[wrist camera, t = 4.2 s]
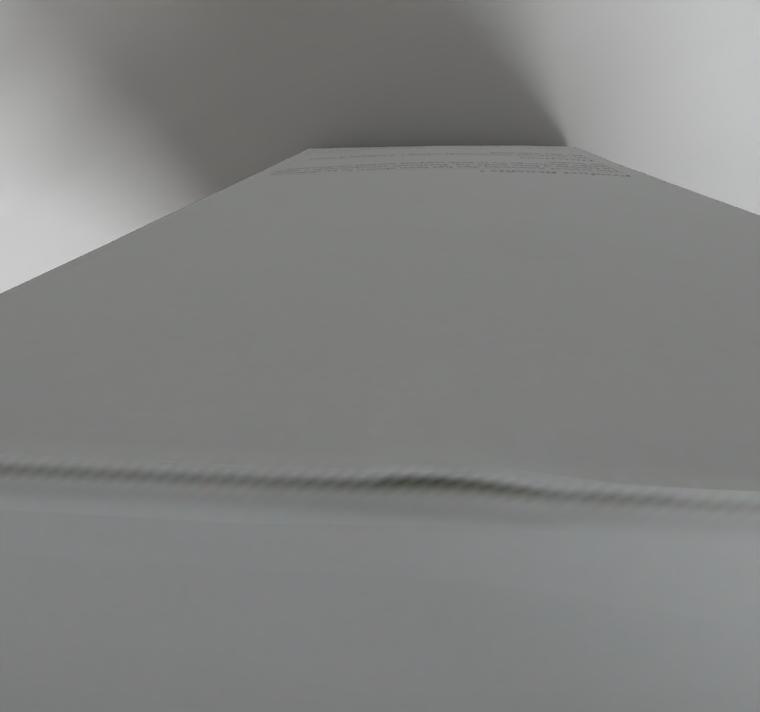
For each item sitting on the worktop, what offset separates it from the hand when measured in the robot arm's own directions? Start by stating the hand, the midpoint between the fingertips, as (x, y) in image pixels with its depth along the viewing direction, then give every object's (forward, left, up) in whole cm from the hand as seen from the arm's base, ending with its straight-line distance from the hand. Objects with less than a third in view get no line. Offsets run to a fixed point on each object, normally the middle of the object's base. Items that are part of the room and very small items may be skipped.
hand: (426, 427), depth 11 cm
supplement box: (-2, 0, -5) cm, 5 cm away
